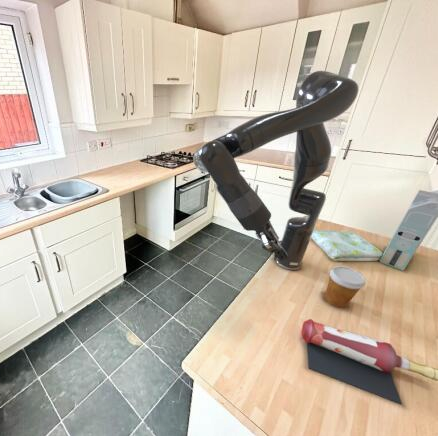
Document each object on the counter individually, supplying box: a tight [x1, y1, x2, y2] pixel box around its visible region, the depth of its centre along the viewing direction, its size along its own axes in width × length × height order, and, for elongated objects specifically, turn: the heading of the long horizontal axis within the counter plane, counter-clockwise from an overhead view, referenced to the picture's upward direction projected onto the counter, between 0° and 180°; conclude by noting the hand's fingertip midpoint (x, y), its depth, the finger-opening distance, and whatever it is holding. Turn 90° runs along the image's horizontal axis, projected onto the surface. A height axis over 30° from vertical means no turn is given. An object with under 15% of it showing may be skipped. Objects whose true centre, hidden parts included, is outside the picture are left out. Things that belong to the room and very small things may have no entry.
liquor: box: [301, 318, 438, 382], centre depth 65 cm, size 7×7×28 cm
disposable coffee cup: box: [324, 265, 366, 309], centre depth 82 cm, size 10×10×12 cm
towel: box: [310, 230, 383, 262], centre depth 110 cm, size 18×21×5 cm
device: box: [378, 189, 438, 272], centre depth 97 cm, size 16×8×30 cm, turn 129°
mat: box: [306, 343, 403, 405], centre depth 66 cm, size 19×12×1 cm, turn 63°
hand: (284, 258), depth 65 cm, fingers closed
